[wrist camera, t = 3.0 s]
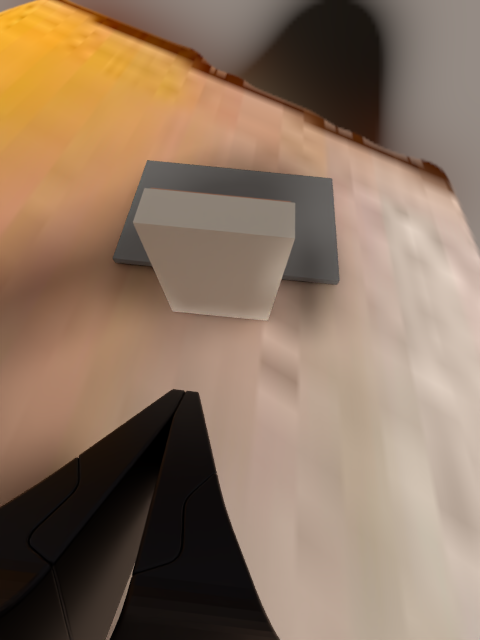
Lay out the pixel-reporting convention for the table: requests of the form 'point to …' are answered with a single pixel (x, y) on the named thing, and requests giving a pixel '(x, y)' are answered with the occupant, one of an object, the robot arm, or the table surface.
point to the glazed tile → (216, 250)
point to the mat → (305, 191)
